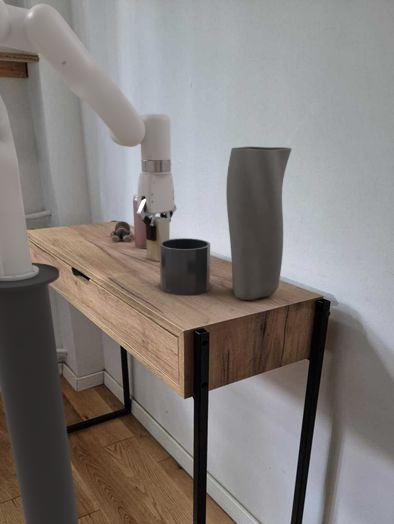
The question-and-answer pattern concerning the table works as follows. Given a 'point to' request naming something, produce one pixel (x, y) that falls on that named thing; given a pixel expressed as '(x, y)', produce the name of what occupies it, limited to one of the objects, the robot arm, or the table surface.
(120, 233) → the figurine
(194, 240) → the cup
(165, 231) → the box
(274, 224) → the vase
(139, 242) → the beverage can
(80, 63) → the robot arm
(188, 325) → the table surface
